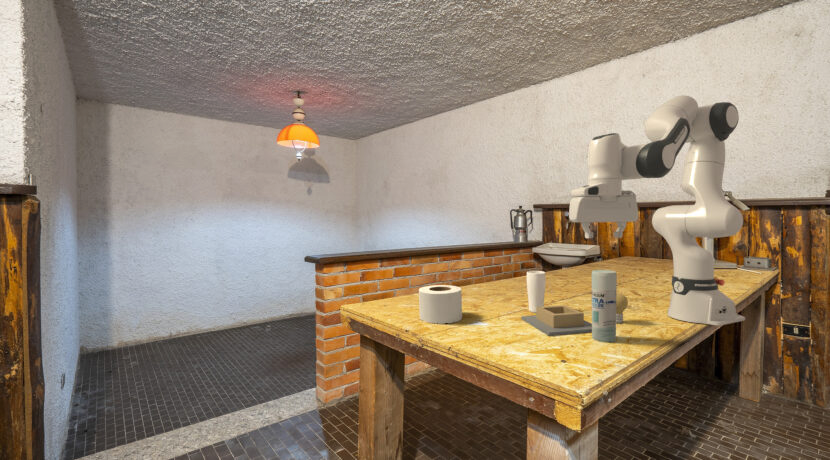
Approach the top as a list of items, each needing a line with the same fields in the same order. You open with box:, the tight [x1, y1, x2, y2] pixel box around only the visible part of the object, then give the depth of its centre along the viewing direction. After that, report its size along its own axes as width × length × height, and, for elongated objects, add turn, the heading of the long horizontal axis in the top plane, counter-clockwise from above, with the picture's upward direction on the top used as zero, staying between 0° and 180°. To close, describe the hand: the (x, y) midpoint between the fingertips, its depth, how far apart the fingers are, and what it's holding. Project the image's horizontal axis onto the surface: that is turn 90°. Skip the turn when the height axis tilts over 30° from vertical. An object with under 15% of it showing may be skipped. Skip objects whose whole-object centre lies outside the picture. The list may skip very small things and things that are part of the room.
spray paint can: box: [591, 269, 618, 343], centre depth 107 cm, size 6×6×20 cm
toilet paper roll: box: [418, 284, 463, 325], centre depth 132 cm, size 16×15×11 cm
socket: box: [520, 304, 592, 337], centre depth 121 cm, size 18×18×5 cm
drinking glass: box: [526, 270, 546, 314], centre depth 138 cm, size 7×7×15 cm
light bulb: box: [616, 292, 629, 324], centre depth 123 cm, size 6×6×10 cm
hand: (603, 237), depth 106 cm, fingers open, 8 cm apart
